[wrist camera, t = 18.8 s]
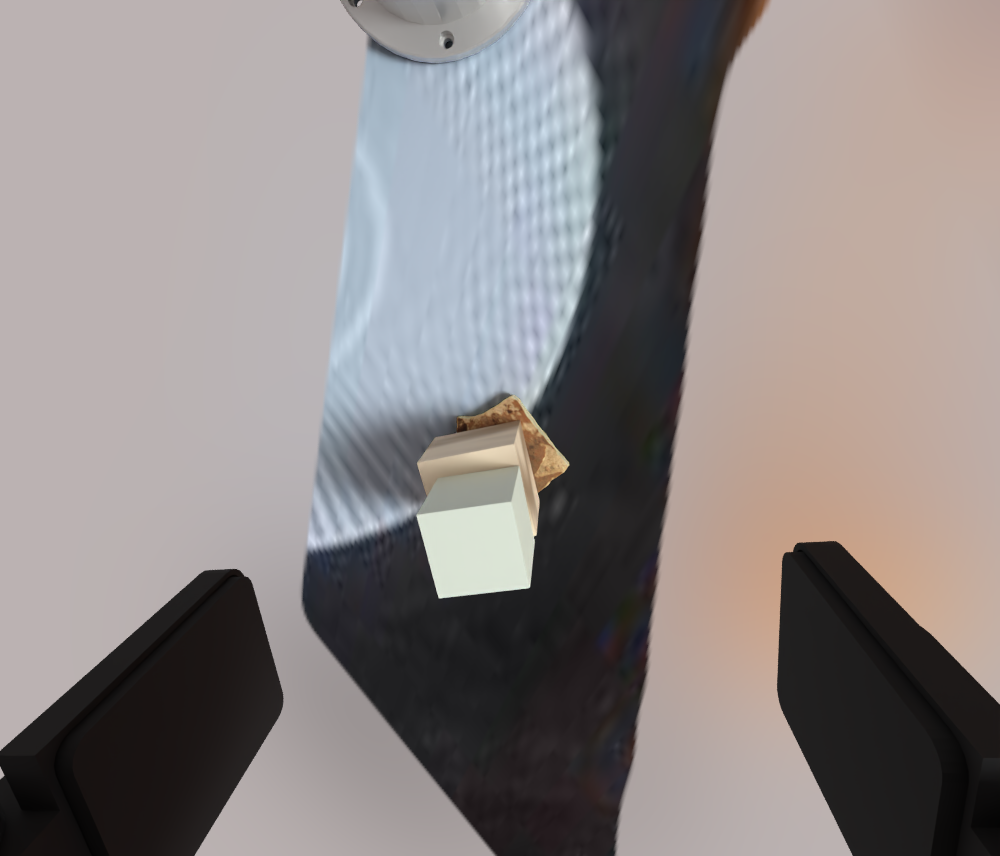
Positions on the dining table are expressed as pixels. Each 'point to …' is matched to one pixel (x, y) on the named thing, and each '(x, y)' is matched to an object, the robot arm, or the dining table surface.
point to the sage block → (478, 533)
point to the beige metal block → (481, 458)
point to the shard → (539, 446)
